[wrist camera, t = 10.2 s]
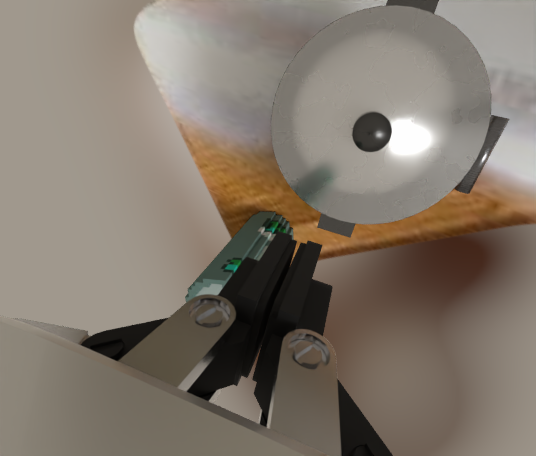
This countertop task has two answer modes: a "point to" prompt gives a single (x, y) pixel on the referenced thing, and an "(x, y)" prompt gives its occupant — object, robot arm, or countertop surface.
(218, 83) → the countertop surface
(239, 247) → the can
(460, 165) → the lid
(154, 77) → the countertop surface
